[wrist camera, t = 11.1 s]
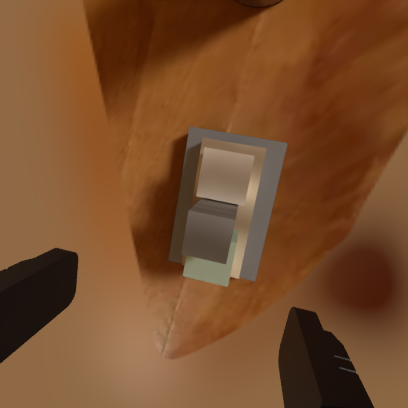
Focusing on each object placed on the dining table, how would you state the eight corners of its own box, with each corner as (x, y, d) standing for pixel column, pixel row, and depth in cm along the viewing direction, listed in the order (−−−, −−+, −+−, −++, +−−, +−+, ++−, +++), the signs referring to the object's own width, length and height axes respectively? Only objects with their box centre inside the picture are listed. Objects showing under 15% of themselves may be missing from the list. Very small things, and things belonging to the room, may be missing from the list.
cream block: (211, 148, 25) (204, 147, 21) (253, 156, 24) (254, 155, 20) (204, 190, 26) (196, 196, 22) (244, 198, 25) (244, 205, 21)
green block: (198, 221, 26) (190, 232, 22) (238, 230, 26) (236, 243, 22) (192, 259, 27) (182, 276, 23) (230, 268, 26) (227, 286, 23)
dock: (195, 129, 30) (189, 126, 27) (283, 144, 29) (287, 143, 26) (175, 251, 33) (168, 260, 30) (254, 270, 32) (255, 281, 29)
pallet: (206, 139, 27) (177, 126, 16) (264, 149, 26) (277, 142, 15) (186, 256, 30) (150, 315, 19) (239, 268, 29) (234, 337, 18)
